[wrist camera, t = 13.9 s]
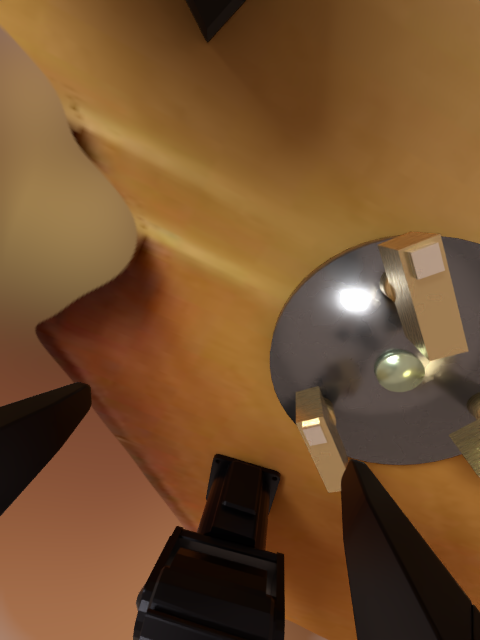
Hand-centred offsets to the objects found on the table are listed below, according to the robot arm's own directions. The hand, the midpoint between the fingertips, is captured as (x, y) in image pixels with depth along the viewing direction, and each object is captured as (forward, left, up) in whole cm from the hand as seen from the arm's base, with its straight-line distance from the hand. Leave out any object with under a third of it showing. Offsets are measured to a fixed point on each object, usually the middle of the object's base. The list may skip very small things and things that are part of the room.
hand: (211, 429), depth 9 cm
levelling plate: (-1, -10, -12) cm, 16 cm away
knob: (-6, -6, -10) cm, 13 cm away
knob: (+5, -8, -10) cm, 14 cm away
